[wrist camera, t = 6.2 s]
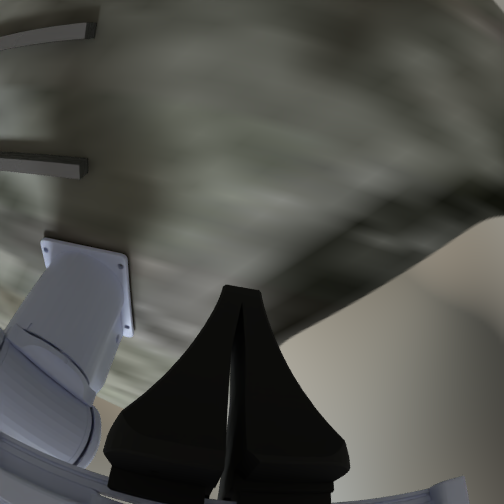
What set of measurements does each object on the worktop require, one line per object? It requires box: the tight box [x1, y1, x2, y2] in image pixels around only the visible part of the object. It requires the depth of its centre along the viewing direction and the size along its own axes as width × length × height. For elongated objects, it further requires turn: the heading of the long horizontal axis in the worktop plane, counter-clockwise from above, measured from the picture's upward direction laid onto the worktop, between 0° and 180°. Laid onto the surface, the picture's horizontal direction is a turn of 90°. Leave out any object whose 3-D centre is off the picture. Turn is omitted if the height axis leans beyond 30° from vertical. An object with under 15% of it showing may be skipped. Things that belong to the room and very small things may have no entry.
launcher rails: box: [0, 23, 96, 180], centre depth 15 cm, size 10×13×1 cm
